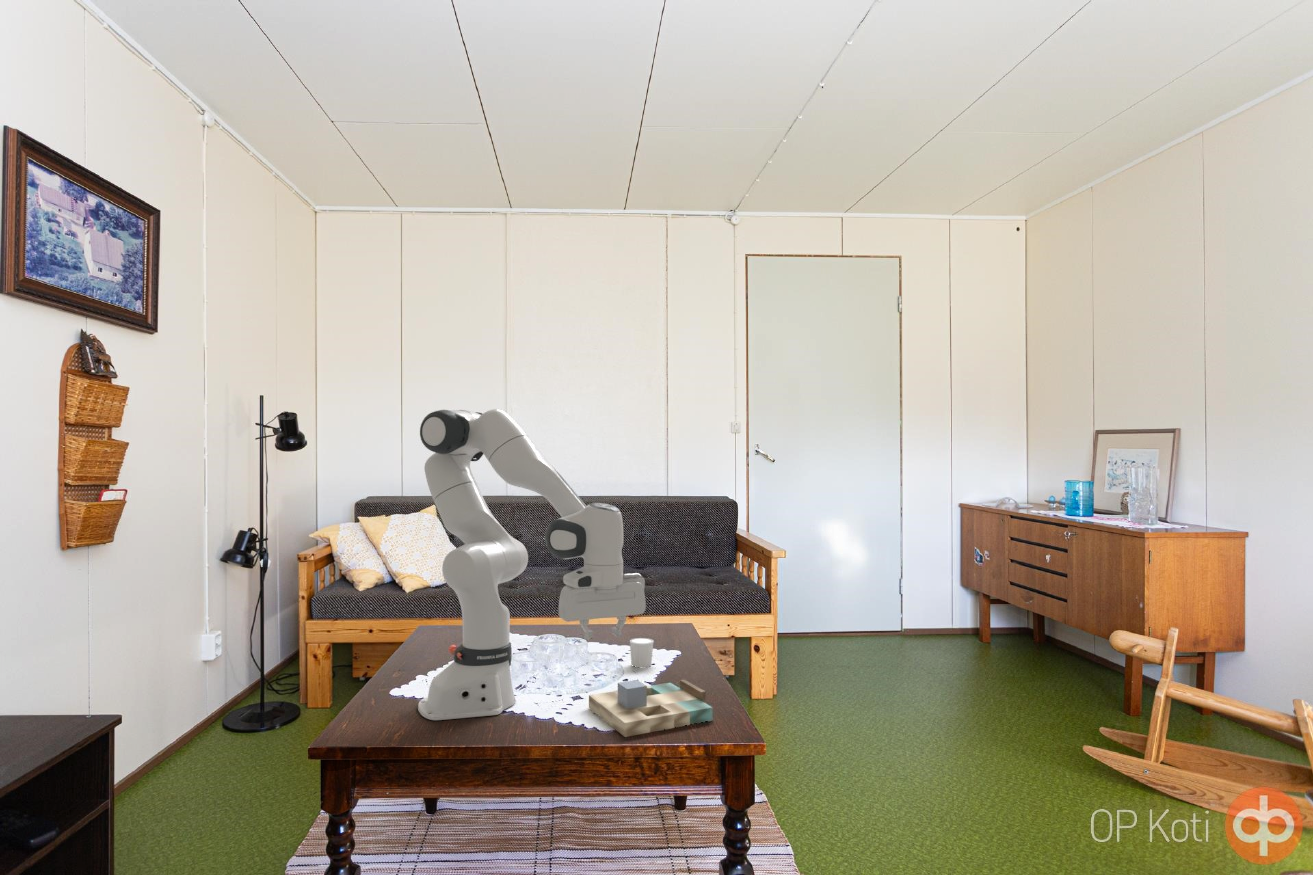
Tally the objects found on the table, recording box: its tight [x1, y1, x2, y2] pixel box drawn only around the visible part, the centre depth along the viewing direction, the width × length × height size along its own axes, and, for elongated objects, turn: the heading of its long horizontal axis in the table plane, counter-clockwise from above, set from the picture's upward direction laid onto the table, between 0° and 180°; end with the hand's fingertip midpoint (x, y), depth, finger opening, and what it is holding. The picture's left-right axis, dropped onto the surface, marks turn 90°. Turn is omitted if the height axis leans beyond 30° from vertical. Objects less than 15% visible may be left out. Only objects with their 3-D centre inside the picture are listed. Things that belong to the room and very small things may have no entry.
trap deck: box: [588, 679, 714, 738], centre depth 176 cm, size 23×20×5 cm
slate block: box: [617, 679, 648, 709], centre depth 173 cm, size 5×5×4 cm
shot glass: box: [629, 637, 655, 668], centre depth 215 cm, size 7×7×7 cm
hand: (602, 637), depth 170 cm, fingers open, 5 cm apart
